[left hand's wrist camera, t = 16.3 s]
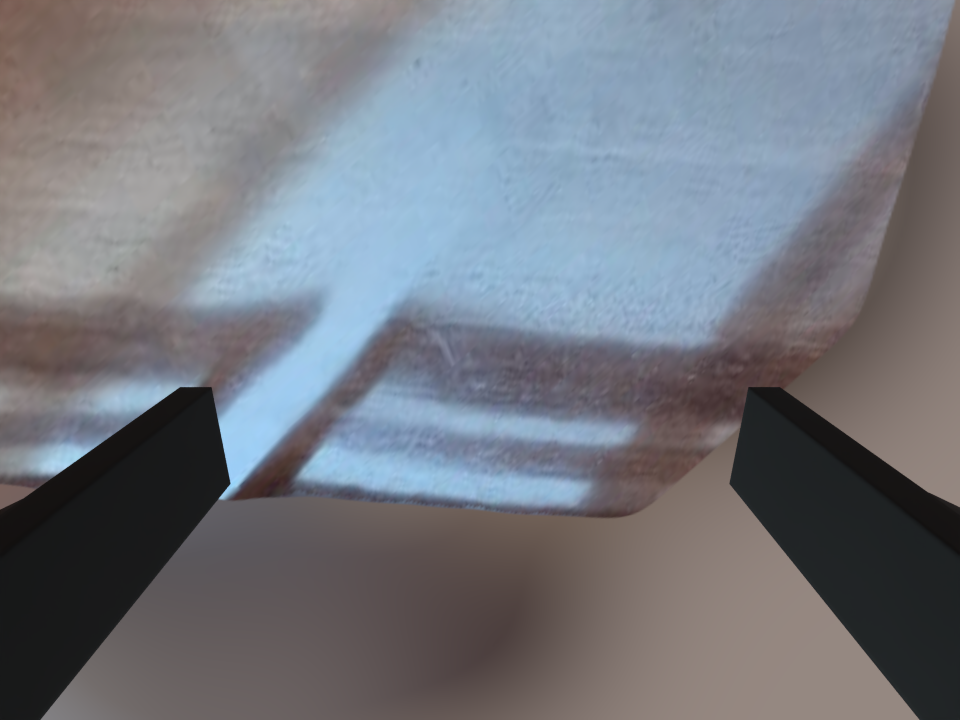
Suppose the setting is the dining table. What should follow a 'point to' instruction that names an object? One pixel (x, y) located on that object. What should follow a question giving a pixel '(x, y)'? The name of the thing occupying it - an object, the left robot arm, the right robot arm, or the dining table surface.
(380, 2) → the dining table surface
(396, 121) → the dining table surface
